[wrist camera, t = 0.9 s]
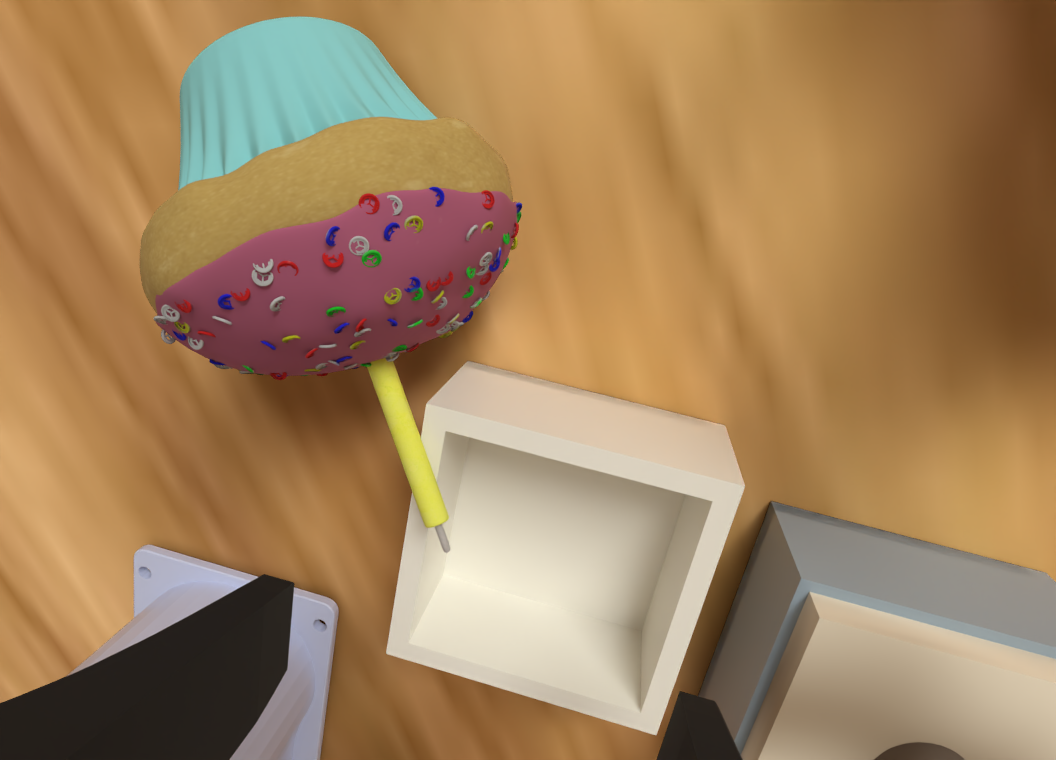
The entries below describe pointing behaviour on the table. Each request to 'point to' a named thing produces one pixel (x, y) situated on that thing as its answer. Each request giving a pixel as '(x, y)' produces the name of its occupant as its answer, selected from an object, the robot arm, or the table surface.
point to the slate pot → (863, 598)
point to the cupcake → (324, 219)
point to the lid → (901, 693)
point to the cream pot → (564, 543)
